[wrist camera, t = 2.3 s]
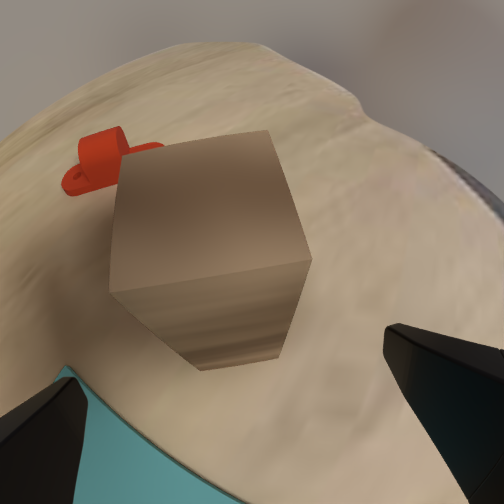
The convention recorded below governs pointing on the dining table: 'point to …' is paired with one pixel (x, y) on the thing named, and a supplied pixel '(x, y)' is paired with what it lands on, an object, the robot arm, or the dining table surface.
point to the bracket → (100, 161)
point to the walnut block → (209, 248)
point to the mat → (131, 464)
